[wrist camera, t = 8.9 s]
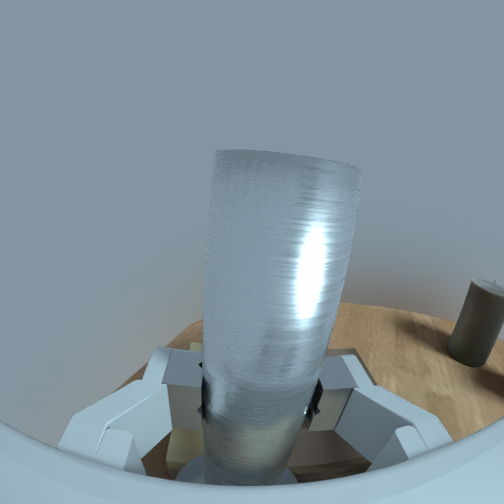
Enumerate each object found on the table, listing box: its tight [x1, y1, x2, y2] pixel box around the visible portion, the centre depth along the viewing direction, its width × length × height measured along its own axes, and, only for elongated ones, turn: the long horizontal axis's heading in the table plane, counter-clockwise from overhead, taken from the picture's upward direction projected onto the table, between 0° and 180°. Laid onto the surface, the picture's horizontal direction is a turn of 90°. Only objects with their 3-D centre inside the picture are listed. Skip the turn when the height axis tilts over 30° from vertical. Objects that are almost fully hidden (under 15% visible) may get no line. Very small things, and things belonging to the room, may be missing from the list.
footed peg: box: [175, 150, 363, 486], centre depth 8 cm, size 6×6×15 cm
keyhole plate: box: [166, 342, 377, 483], centre depth 25 cm, size 21×17×4 cm
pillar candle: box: [447, 278, 504, 367], centre depth 37 cm, size 10×10×15 cm
